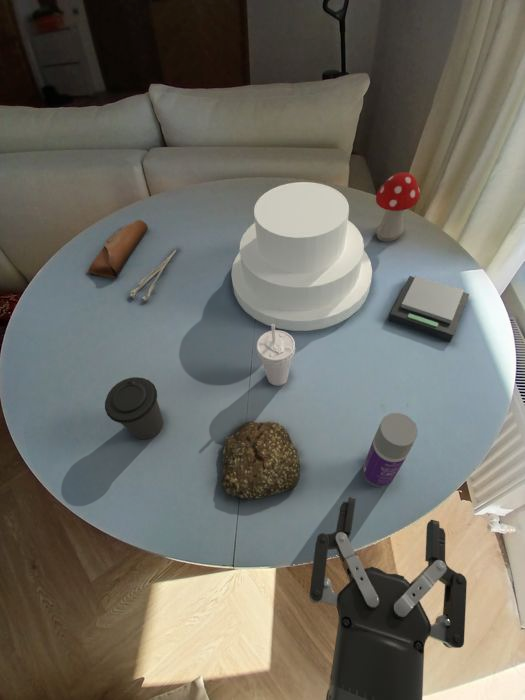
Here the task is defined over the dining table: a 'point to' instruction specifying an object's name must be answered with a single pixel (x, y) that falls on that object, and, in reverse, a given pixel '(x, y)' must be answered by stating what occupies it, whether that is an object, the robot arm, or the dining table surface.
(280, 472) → the bread roll
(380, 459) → the container
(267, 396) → the dining table surface
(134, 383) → the coffee cup
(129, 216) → the dining table surface
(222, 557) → the dining table surface
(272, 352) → the smoothie
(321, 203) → the cake
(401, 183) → the decorative mushroom
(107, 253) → the sunglasses case
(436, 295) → the scale
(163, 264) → the jawbone
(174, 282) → the dining table surface
